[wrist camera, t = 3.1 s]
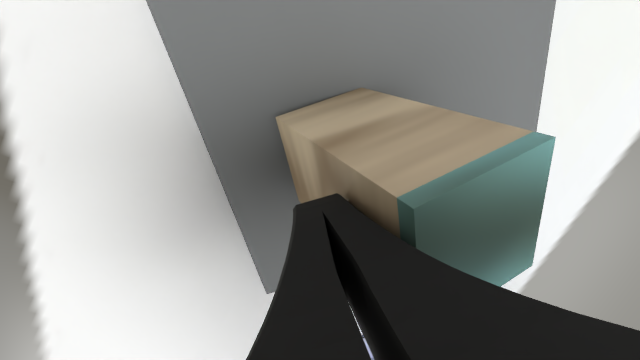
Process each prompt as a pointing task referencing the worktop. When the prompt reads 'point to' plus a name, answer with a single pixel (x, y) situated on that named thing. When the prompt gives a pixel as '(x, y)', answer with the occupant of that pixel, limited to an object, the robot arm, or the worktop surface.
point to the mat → (339, 79)
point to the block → (426, 176)
